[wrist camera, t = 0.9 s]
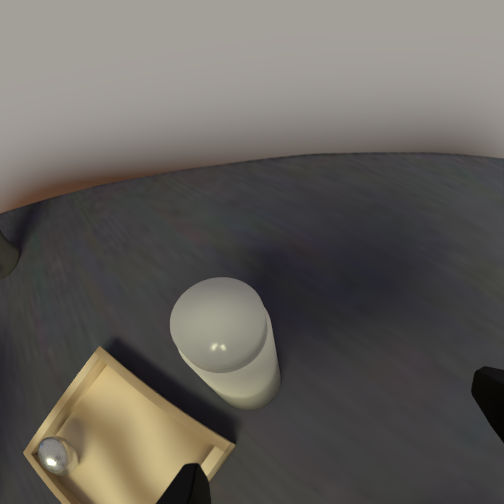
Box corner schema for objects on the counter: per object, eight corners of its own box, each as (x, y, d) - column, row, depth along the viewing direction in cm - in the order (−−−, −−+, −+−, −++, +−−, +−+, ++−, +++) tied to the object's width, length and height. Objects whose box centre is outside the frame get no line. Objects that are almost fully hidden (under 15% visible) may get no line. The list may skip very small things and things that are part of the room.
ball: (73, 484, 17) (46, 481, 14) (50, 457, 18) (23, 450, 16) (92, 458, 19) (66, 453, 16) (68, 431, 20) (42, 423, 17)
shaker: (259, 421, 21) (230, 388, 12) (205, 389, 23) (146, 334, 14) (292, 367, 23) (288, 297, 15) (239, 340, 25) (205, 260, 17)
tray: (142, 562, 13) (131, 568, 11) (36, 456, 19) (23, 452, 17) (236, 444, 20) (230, 443, 18) (110, 354, 25) (99, 345, 24)
